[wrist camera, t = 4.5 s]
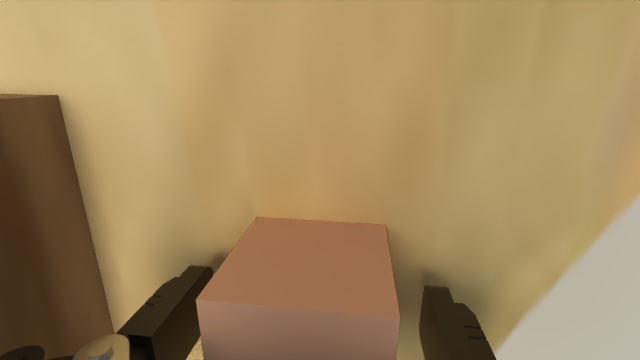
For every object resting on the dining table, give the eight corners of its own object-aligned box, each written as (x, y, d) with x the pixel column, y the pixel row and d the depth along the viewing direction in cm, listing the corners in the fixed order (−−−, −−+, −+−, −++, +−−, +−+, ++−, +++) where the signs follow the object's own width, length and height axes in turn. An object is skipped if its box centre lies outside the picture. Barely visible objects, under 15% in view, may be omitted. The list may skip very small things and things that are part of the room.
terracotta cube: (384, 223, 12) (400, 318, 7) (376, 329, 14) (384, 463, 9) (257, 216, 13) (196, 299, 8) (263, 318, 14) (214, 439, 10)
